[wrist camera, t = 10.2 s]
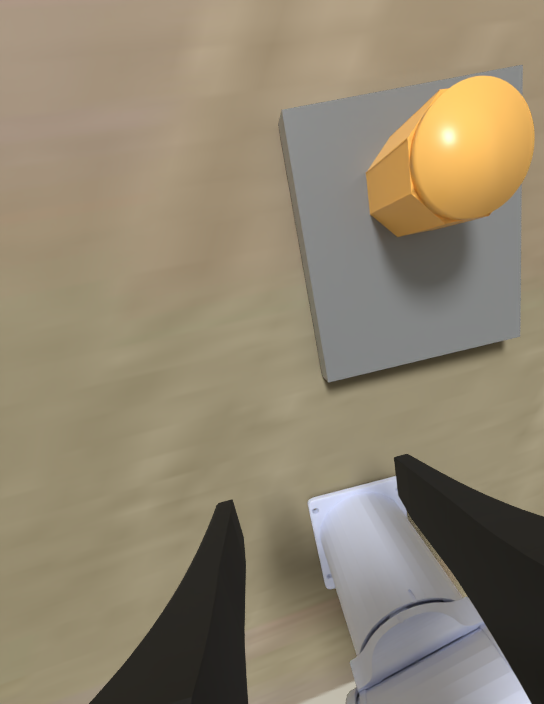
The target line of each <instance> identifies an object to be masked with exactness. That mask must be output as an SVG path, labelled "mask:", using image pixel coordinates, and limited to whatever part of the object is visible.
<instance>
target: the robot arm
mask: <svg viewBox="0 0 544 704" xmlns="http://www.w3.org/2000/svg"><path fill="white" fill-rule="evenodd" d="M394 462H395V471H396V476H394V477H390V478H386V479H382V480H378V481H374V482H371V483H367V484H363V485H359V486H355V487H351V488H348V489H344V490H340V491H336V492H332V493H328V494H325V495H321V496H317V497H313V498H311V499H309V501H308V508H309V513H310V517H311V522H312V527H313V531H314V536H315V541H316V545H317V550H318V555H319V559H320V564H321V569H322V573H323V578H324V583H325V586H326V588H328V589H333V588H336V591H337V594H338V597H339V600H340V604H341V607H342V610H343V613H344V616H345V620H346V623H347V626H348V629H349V632H350V636H351V639H352V642H353V645H354V648H355V652H356V655H357V657H355V658H354V659H352V660H351V661H350V665H351V669H352V672H353V676H354V679H355V683H356V686H357V687H356V688H355V689H353V690H351V691H350V692H349V693H348V694H347V698H346V704H544V517H543V516H540V515H537V514H534V513H531V512H528V511H525V510H522V509H520V508H517V507H514V506H512V505H509V504H507V503H504V502H502V501H499V500H497V499H494V498H492V497H490V496H487V495H485V494H483V493H481V492H479V491H476V490H474V489H472V488H470V487H468V486H466V485H464V484H462V483H460V482H458V481H456V480H454V479H452V478H450V477H448V476H446V475H445V474H443V473H441V472H439V471H437V470H435V469H434V468H432V467H430V466H428V465H426V464H425V463H423V462H421V461H419V460H418V459H416V458H414V457H412V456H410V455H408V454H405V455H401V456H397V457H394ZM396 487H397V488H396ZM315 508H317V509H316V510H313V509H315ZM407 512H408V513H409V515H410V517H411V518H412V520H413V521H414V522H415V524H416V525H417V526H418V528H419V529H420V530H421V532H422V533H423V534H424V536H425V537H426V538H427V540H428V541H429V542H430V544H431V545H432V546H433V548H434V549H435V550H436V552H437V553H438V554H439V556H440V557H441V558H442V560H443V561H444V562H445V564H446V565H447V566H448V568H449V569H450V570H451V572H452V573H453V575H454V576H455V577H456V579H457V580H458V582H459V583H460V585H461V586H462V588H463V590H464V591H465V593H466V594H467V596H468V597H469V598H468V597H464V598H463V597H462V595H461V594H460V592H459V591H458V590H457V588H456V587H455V585H454V584H453V583H452V581H451V580H450V578H449V577H448V575H447V574H446V573H445V571H444V570H443V568H442V567H441V565H440V564H439V563H438V561H437V560H436V558H435V557H434V556H433V554H432V553H431V551H430V550H429V548H428V547H427V546H426V544H425V543H424V541H423V540H422V539H421V537H420V536H419V534H418V533H417V531H416V530H415V529H414V527H413V526H412V524H411V523H410V521H409V520H408V518H407ZM245 580H246V560H245V547H244V537H243V533H242V530H241V527H240V523H239V520H238V516H237V513H236V510H235V506H234V503H233V500H228V501H225V502H221V503H218V504H217V506H216V509H215V511H214V514H213V516H212V519H211V521H210V524H209V526H208V529H207V531H206V533H205V536H204V538H203V540H202V542H201V544H200V547H199V549H198V551H197V553H196V555H195V557H194V559H193V561H192V563H191V565H190V567H189V568H188V570H187V572H186V574H185V576H184V578H183V580H182V581H181V583H180V585H179V586H178V588H177V590H176V591H175V593H174V595H173V596H172V598H171V600H170V601H169V603H168V604H167V606H166V607H165V609H164V610H163V612H162V613H161V615H160V616H159V618H158V619H157V621H156V622H155V624H154V625H153V627H152V628H151V629H150V631H149V632H148V633H147V635H146V636H145V637H144V639H143V640H142V641H141V643H140V644H139V645H138V647H137V648H136V649H135V650H134V652H133V653H132V654H131V656H130V657H129V658H128V659H127V661H126V662H125V663H124V664H123V666H122V667H121V668H120V669H119V670H118V671H117V673H116V674H115V675H114V676H113V677H112V678H111V679H110V681H109V682H108V683H107V684H106V685H105V686H104V687H103V689H102V690H101V691H100V692H99V693H98V694H97V695H96V697H95V698H94V699H93V700H92V701H91V702H90V703H89V704H248V694H247V678H246V660H245V634H244V626H245Z"/></svg>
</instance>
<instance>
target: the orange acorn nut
mask: <svg viewBox="0 0 544 704" xmlns="http://www.w3.org/2000/svg"><path fill="white" fill-rule="evenodd" d="M533 150H534V125H533V120H532V116H531V112H530V110H529V107H528V105H527V103H526V101H525V100H524V98H523V97H522V95H521V94H520V93H519V91H518V90H517V89H515V88H514V87H513V86H512V85H511V84H509V83H508V82H506V81H504V80H502V79H500V78H496V77H493V76H475V77H471V78H467V79H465V80H462V81H460V82H458V83H457V84H455V85H453V86H452V87H450V88H448V89H442V90H441V89H440V90H439V91H438V92H437V93H436V94H435V95H434V96H432V97H431V98H430V99H429V100H428V101H427V102H426V103H425V104H424V105H423V106H422V107H421V108H420V109H419V110H418V111H417V112H416V113H415V114H413V115H412V116H411V117H410V118H409V119H408V120H407V121H406V122H405V123H404V124H403V125H402V126H401V127H400V128H399V129H398V130H397V131H396V132H394V133H393V134H392V135H391V136H390V137H389V139H388V141H387V142H386V144H385V145H384V147H383V148H382V150H381V151H380V153H379V154H378V156H377V157H376V159H375V160H374V162H373V163H372V165H371V166H370V168H369V169H368V171H367V172H366V179H367V190H368V200H369V210H370V215H371V216H373V217H374V218H375V219H376V220H377V221H379V222H380V223H381V224H382V225H383V226H385V227H386V228H387V229H388V230H389V231H391V232H392V233H393V234H394V235H395V236H397V237H400V236H404V235H409V234H415V233H420V232H425V231H430V230H431V231H432V230H436V229H439V228H443V227H447V226H451V225H455V224H459V223H463V222H467V221H471V220H475V219H479V218H483V217H487V216H489V215H490V214H491V213H492V212H493V211H494V210H496V209H498V208H499V207H501V206H502V205H503V204H505V203H506V202H507V201H508V200H509V199H510V198H511V197H512V196H513V194H514V193H515V192H516V191H517V189H518V188H519V186H520V185H521V184H522V182H523V180H524V178H525V176H526V174H527V171H528V169H529V166H530V163H531V160H532V155H533Z"/></svg>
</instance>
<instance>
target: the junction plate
mask: <svg viewBox="0 0 544 704" xmlns="http://www.w3.org/2000/svg"><path fill="white" fill-rule="evenodd" d="M522 71H523V65H519V66H514V67H508V68H503V69H498V70H492V71H487V72H481V73H476V74H471V75H465V76H460V77H455V78H449V79H444V80H439V81H433V82H428V83H423V84H417V85H412V86H407V87H401V88H396V89H391V90H385V91H380V92H375V93H369V94H364V95H359V96H353V97H348V98H343V99H337V100H332V101H327V102H321V103H316V104H311V105H305V106H300V107H295V108H289V109H284V110H282V111H281V115H280V119H279V123H278V126H279V131H280V137H281V143H282V149H283V154H284V160H285V166H286V171H287V177H288V183H289V189H290V194H291V200H292V206H293V211H294V217H295V223H296V229H297V234H298V240H299V246H300V251H301V257H302V263H303V269H304V274H305V280H306V286H307V291H308V297H309V303H310V309H311V314H312V320H313V326H314V331H315V337H316V343H317V348H318V354H319V360H320V366H321V371H322V376H323V377H324V378H325V379H326V380H327V382H332V381H337V380H341V379H345V378H349V377H353V376H357V375H362V374H366V373H370V372H374V371H378V370H382V369H387V368H391V367H395V366H399V365H403V364H407V363H412V362H416V361H420V360H424V359H428V358H432V357H437V356H441V355H445V354H449V353H453V352H457V351H462V350H466V349H470V348H474V347H478V346H482V345H487V344H491V343H495V342H499V341H503V340H507V339H512V338H516V337H520V301H521V186H522V184H521V185H520V186H519V188H518V189H517V191H516V192H515V193H514V194H513V196H512V197H511V198H510V199H509V200H508V201H507V202H506V203H505V204H503V205H502V206H501V207H499V208H498V209H496V210H494V211H493V212H492V213H491V214H490V215H489V216H487V217H483V218H479V219H475V220H471V221H467V222H463V223H459V224H455V225H451V226H447V227H443V228H439V229H436V230H432V231H431V230H430V231H425V232H420V233H415V234H409V235H404V236H400V237H397V236H395V235H394V234H393V233H392V232H391V231H389V230H388V229H387V228H386V227H385V226H383V225H382V224H381V223H380V222H379V221H377V220H376V219H375V218H374V217H373V216H371V215H370V210H369V200H368V190H367V179H366V172H367V171H368V169H369V168H370V166H371V165H372V163H373V162H374V160H375V159H376V157H377V156H378V154H379V153H380V151H381V150H382V148H383V147H384V145H385V144H386V142H387V141H388V139H389V137H390V136H391V135H392V134H393V133H394V132H396V131H397V130H398V129H399V128H400V127H401V126H402V125H403V124H404V123H405V122H406V121H407V120H408V119H409V118H410V117H411V116H412V115H413V114H415V113H416V112H417V111H418V110H419V109H420V108H421V107H422V106H423V105H424V104H425V103H426V102H427V101H428V100H429V99H430V98H431V97H432V96H434V95H435V94H436V93H437V92H438V91H439V90H440V89H441V90H442V89H448V88H450V87H452V86H453V85H455V84H457V83H458V82H460V81H462V80H465V79H467V78H471V77H475V76H493V77H496V78H500V79H502V80H504V81H506V82H508V83H509V84H511V85H512V86H513V87H514V88H515V89H517V90H518V91H519V93H520V94H521V95H522Z"/></svg>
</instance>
